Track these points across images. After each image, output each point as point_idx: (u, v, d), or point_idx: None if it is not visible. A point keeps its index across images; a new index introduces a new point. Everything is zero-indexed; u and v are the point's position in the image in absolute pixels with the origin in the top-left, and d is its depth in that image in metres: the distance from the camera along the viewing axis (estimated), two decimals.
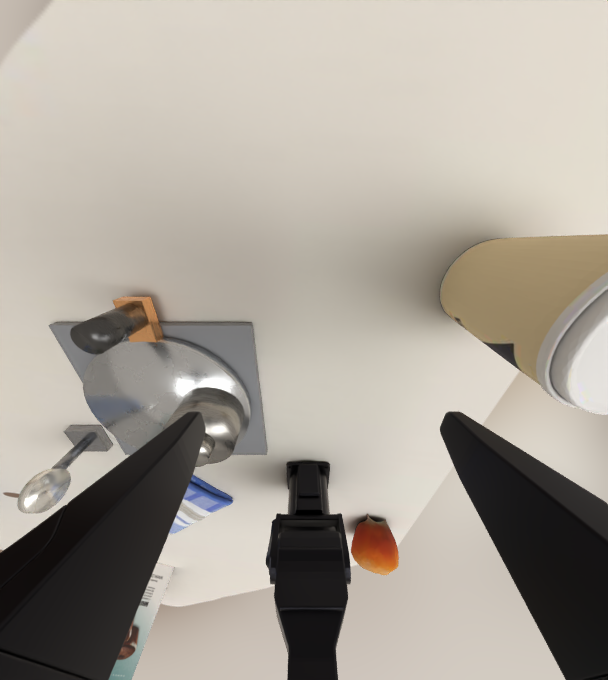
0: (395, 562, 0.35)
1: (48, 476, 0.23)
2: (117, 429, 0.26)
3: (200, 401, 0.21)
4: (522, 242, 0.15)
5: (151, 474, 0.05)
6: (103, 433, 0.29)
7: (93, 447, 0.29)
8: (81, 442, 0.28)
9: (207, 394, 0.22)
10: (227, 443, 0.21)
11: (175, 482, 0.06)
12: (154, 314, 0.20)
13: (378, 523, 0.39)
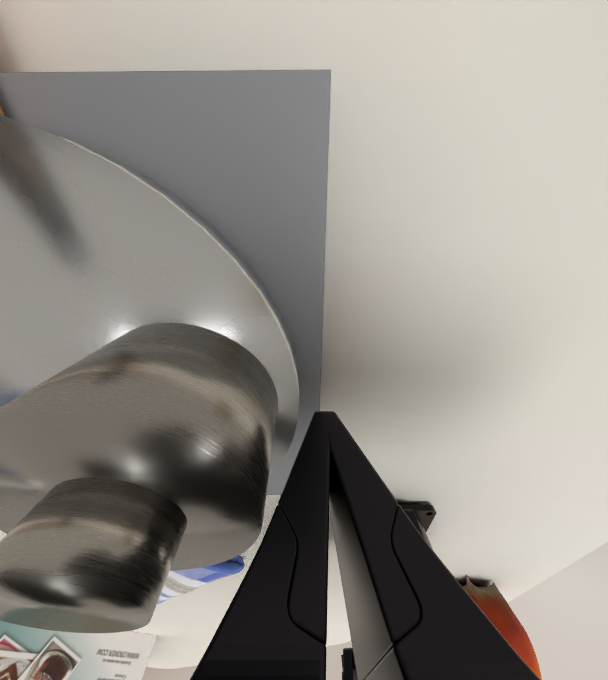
0: (540, 677, 0.19)
1: None
2: None
3: (126, 356, 0.05)
4: None
5: None
6: None
7: None
8: None
9: (161, 338, 0.06)
10: (234, 521, 0.05)
11: None
12: None
13: (487, 593, 0.23)
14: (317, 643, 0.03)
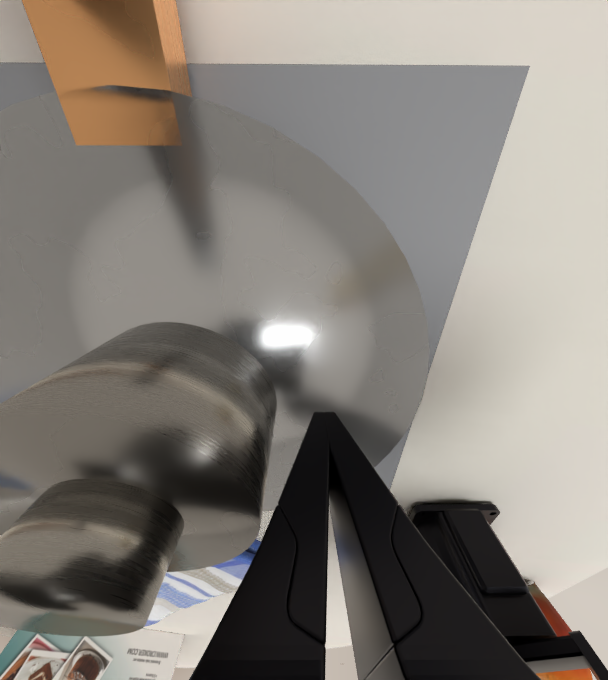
0: (591, 676, 0.20)
1: None
2: None
3: (124, 356, 0.05)
4: None
5: None
6: None
7: None
8: None
9: (159, 337, 0.06)
10: (231, 523, 0.05)
11: None
12: None
13: None
14: (317, 643, 0.03)
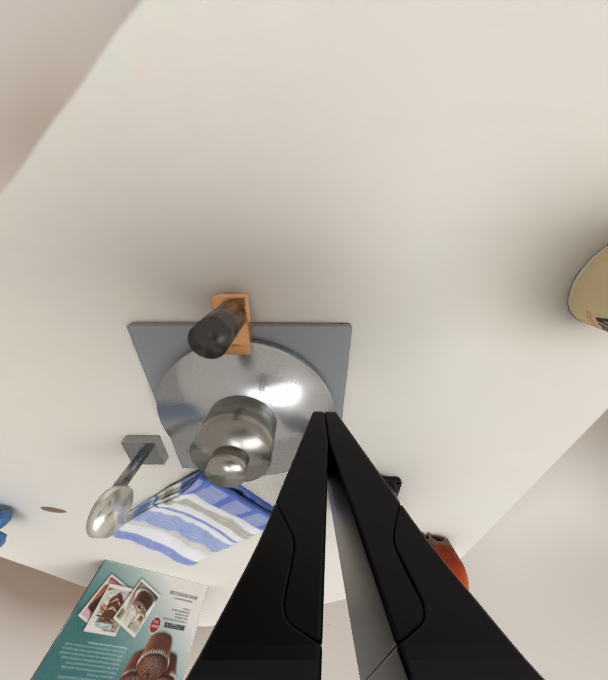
0: (468, 588, 0.32)
1: (115, 494, 0.21)
2: (184, 441, 0.23)
3: (233, 412, 0.19)
4: None
5: None
6: (161, 444, 0.27)
7: (149, 460, 0.27)
8: (139, 455, 0.26)
9: (239, 403, 0.20)
10: (263, 461, 0.19)
11: None
12: (249, 313, 0.18)
13: (441, 543, 0.36)
14: (314, 643, 0.03)
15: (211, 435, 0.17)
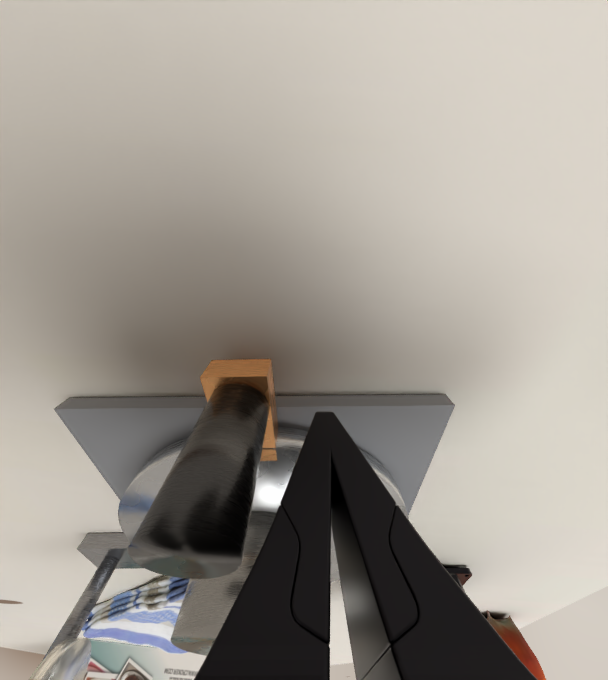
0: None
1: (53, 673, 0.13)
2: None
3: (247, 562, 0.10)
4: None
5: None
6: None
7: (121, 564, 0.19)
8: (105, 565, 0.18)
9: (256, 535, 0.11)
10: None
11: None
12: (273, 392, 0.10)
13: (505, 626, 0.28)
14: (321, 643, 0.03)
15: (209, 628, 0.09)
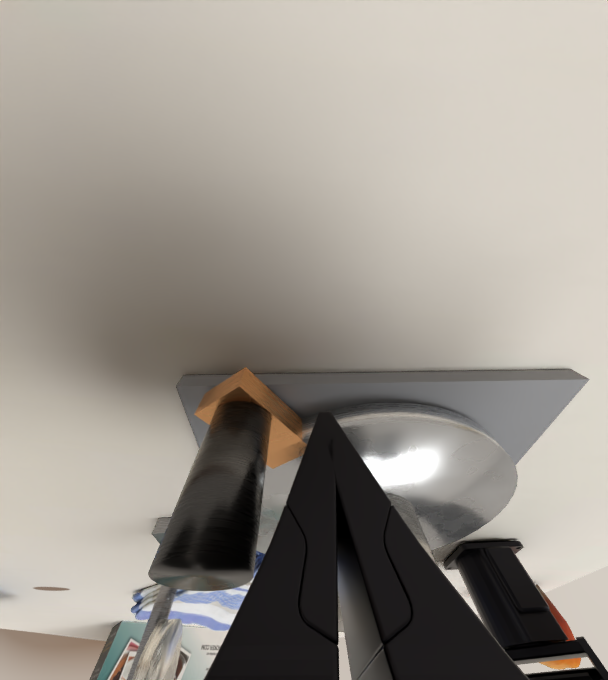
0: None
1: (161, 653, 0.13)
2: None
3: None
4: None
5: None
6: None
7: None
8: None
9: None
10: None
11: None
12: (269, 393, 0.10)
13: None
14: (329, 643, 0.03)
15: None
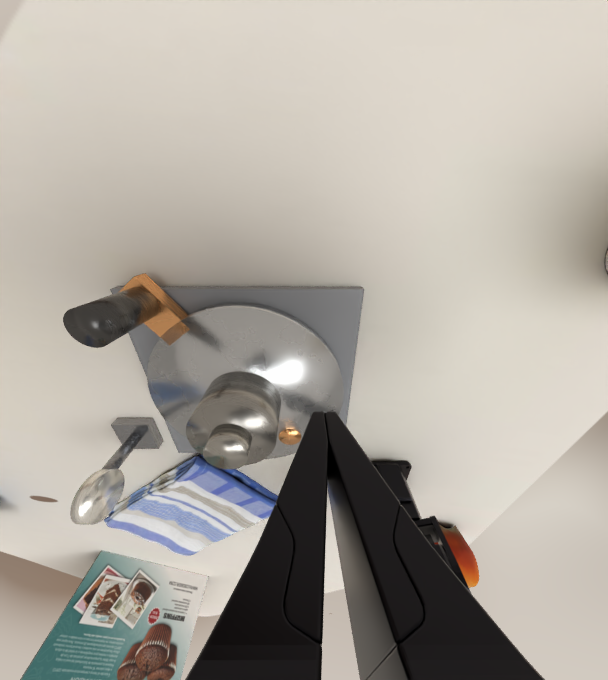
0: (478, 576, 0.31)
1: (103, 478, 0.19)
2: None
3: (209, 393, 0.17)
4: None
5: None
6: (155, 427, 0.25)
7: (142, 444, 0.25)
8: (131, 438, 0.24)
9: (216, 383, 0.18)
10: (261, 425, 0.16)
11: None
12: (161, 291, 0.16)
13: (450, 530, 0.35)
14: (314, 643, 0.03)
15: (194, 423, 0.16)
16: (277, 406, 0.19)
